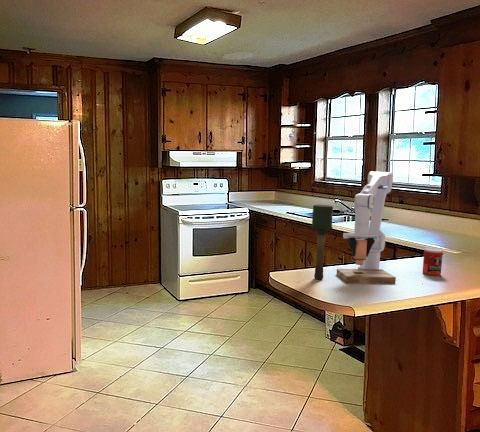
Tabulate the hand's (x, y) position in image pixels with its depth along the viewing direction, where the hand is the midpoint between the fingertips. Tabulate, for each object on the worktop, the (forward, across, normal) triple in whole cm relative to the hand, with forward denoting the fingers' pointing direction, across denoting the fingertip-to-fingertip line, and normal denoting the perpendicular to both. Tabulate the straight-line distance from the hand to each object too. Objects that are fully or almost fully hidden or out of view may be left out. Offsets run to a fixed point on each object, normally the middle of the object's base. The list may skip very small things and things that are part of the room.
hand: (359, 256), depth 215 cm
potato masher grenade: (+10, -17, -1) cm, 20 cm away
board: (+10, +3, 0) cm, 10 cm away
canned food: (+10, +37, +10) cm, 40 cm away
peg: (+3, 0, 0) cm, 3 cm away
